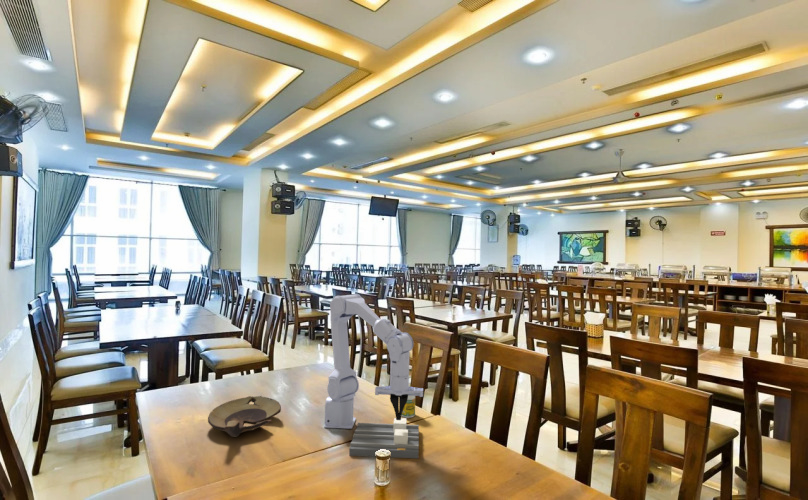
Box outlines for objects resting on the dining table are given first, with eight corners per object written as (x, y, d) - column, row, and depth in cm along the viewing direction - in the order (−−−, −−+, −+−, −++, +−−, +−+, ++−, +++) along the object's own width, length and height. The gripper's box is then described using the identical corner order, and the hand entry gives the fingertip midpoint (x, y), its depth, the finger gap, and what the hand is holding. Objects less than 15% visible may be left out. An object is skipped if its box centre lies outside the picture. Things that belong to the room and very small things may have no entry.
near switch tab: (393, 445, 117) (394, 435, 117) (394, 438, 121) (394, 429, 121) (407, 446, 116) (407, 435, 116) (407, 439, 120) (408, 429, 120)
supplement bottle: (409, 411, 147) (410, 385, 147) (417, 416, 143) (418, 389, 143) (397, 414, 144) (397, 387, 144) (405, 419, 140) (406, 392, 140)
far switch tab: (393, 432, 125) (393, 423, 125) (394, 427, 129) (394, 417, 129) (405, 433, 124) (406, 423, 124) (406, 427, 128) (406, 418, 128)
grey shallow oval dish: (293, 414, 142) (294, 393, 142) (238, 455, 113) (239, 429, 113) (240, 406, 148) (240, 386, 148) (174, 444, 119) (175, 419, 119)
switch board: (349, 455, 115) (349, 445, 115) (358, 428, 132) (358, 420, 132) (418, 458, 114) (418, 448, 114) (418, 431, 131) (418, 422, 131)
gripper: (374, 377, 117) (373, 423, 117) (423, 379, 116) (422, 425, 116) (377, 370, 124) (376, 413, 124) (423, 371, 123) (422, 415, 123)
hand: (398, 418), depth 120 cm, fingers closed
